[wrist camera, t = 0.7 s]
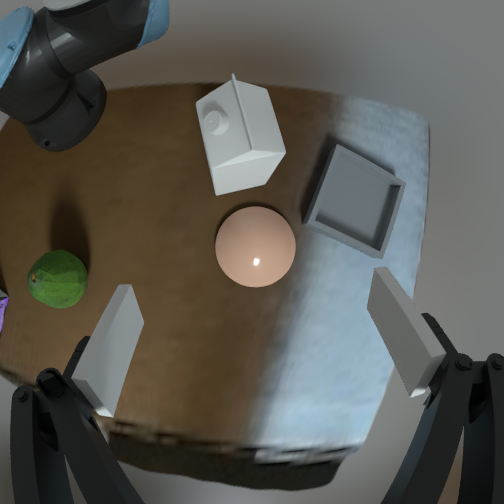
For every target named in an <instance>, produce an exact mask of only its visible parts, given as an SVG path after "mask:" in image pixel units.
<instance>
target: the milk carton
mask: <svg viewBox="0 0 504 504" xmlns="http://www.w3.org/2000/svg"><path fill="white" fill-rule="evenodd" d="M196 108H197V113H198V118H199V123H200V128H201V133H202V137H203V142H204V147H205V152H206V156H207V160H208V165H209V169H210V173H211V178H212V182H213V186H214V190H215V194H216V196H217V195H221V194H226V193H230V192H234V191H238V190H242V189H247V188H251V187H256V186H260V185H264V184H266V182H267V180H268V179H269V177H270V176H271V174H272V173H273V171H274V170H275V168H276V167H277V165H278V164H279V162H280V161H281V159H282V158H283V156H284V155H285V153H286V151H285V147H284V143H283V140H282V137H281V133H280V130H279V127H278V123H277V120H276V117H275V114H274V110H273V107H272V104H271V101H270V98H269V95H268V92H267V89H265V88H261V87H258V86H255V85H251V84H248V83H245V82H241V81H237V80H236V79H235V76H234V74H232V80H230V81H228V82H227V83H225V84H223V85H222V86H220V87H219V88H217V89H215V90H214V91H212V92H211V93H209V94H208V95H206V96H205V97H203V98H201V99H200V100H199V101H197V102H196Z"/></svg>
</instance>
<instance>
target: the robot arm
mask: <svg viewBox="0 0 504 504" xmlns="http://www.w3.org/2000/svg"><path fill="white" fill-rule="evenodd" d="M44 5H45V7H43V8H42V9H40V10H38V11H37V12H35V13H34V10H33V9H32V8H29V7H22V8H18V9H16V10H14V11H12V12H11V13H10V14H8V15H7V16H6V17H4V18H3V19H2V20H1V21H0V111H2V112H4V113H6V114H8V115H9V116H11V117H12V118H14V119H16V120H18V121H20V122H21V123H23V125H24V126H25V128H26V130H27V131H28V133H29V135H30V136H31V138H32V140H33V141H34V142H35V143H36V144H37V145H38V146H40V147H42V148H44V149H46V150H48V151H52V152H59V151H64V150H67V149H69V148H71V147H73V146H75V145H77V144H78V143H79V142H81V141H82V140H83V139H84V138H85V137H86V136H87V135H88V134H89V133H90V132H91V131H92V130H93V129H94V127H95V126H96V124H97V123H98V121H99V119H100V117H101V115H102V113H103V110H104V107H105V103H106V89H105V86H104V84H103V83H102V81H101V80H100V78H99V77H98V76H97V75H96V74H95V73H94V72H93V71H91V70H89V68H91V67H93V66H95V65H97V64H99V63H102V62H104V61H106V60H108V59H111V58H113V57H116V56H118V55H120V54H123V53H125V52H128V51H131V50H134V49H138V48H140V47H141V46H142V45H145V44H147V43H149V42H152V41H154V40H156V39H159V38H160V37H162V36H163V35H164V34H165V33H166V31H167V29H168V26H169V0H44ZM367 309H368V311H369V313H370V315H371V317H372V319H373V321H374V323H375V325H376V327H377V329H378V331H379V333H380V335H381V337H382V339H383V341H384V343H385V345H386V347H387V349H388V351H389V353H390V355H391V357H392V359H393V361H394V363H395V366H396V368H397V370H398V372H399V374H400V376H401V379H402V381H403V383H404V385H405V387H406V390H407V392H408V394H409V396H410V397H413V396H417V395H420V394H423V393H424V392H425V390H426V389H427V387H428V386H429V387H430V390H431V393H430V394H429V396H428V397H427V399H426V401H425V402H424V404H423V405H425V404H426V406H425V409H424V412H423V414H422V417H421V420H420V422H419V425H418V428H417V430H416V433H415V435H414V438H413V440H412V442H411V445H410V447H409V449H408V452H407V454H406V456H405V458H404V461H403V463H402V465H401V467H400V469H399V471H398V473H397V475H396V477H395V479H394V481H393V483H392V485H391V486H390V488H389V490H388V492H387V494H386V495H385V497H384V499H383V501H382V502H381V504H437V503H438V500H439V498H440V495H441V493H442V491H443V488H444V486H445V483H446V481H447V478H448V475H449V473H450V470H451V467H452V464H453V461H454V458H455V455H456V451H457V448H458V445H459V441H460V437H461V434H462V430H463V426H464V446H463V462H462V472H461V481H460V489H459V496H458V502H457V504H504V357H503V356H502V355H500V354H497V353H493V354H491V355H490V356H489V357H488V358H487V360H486V361H472V359H471V358H469V356H467V355H465V354H461V353H458V352H457V351H456V349H455V347H454V346H453V344H452V343H451V341H450V340H449V338H448V337H447V335H446V334H445V333H444V331H443V329H442V328H441V327H440V325H439V324H438V322H437V321H436V320H435V318H434V317H432V316H431V315H429V314H428V313H423V314H420V312H419V311H418V309H417V308H416V306H415V305H414V303H413V302H412V301H411V299H410V298H409V296H408V295H407V294H406V292H405V291H404V289H403V288H402V287H401V285H400V284H399V283H398V281H397V280H396V279H395V277H394V276H393V275H392V273H391V272H390V271H389V269H388V268H387V267H380V268H374V273H373V279H372V284H371V289H370V294H369V299H368V304H367ZM143 325H144V321H143V318H142V315H141V312H140V309H139V306H138V303H137V301H136V298H135V295H134V291H133V288H132V285H131V284H125V285H119V286H118V287H117V289H116V291H115V293H114V294H113V296H112V298H111V300H110V302H109V303H108V305H107V307H106V309H105V311H104V313H103V315H102V316H101V318H100V320H99V322H98V324H97V326H96V328H95V330H94V332H93V334H92V336H85V337H84V338H83V339H82V340H81V341H80V342H79V343H78V345H77V347H76V349H75V352H73V354H72V356H71V358H70V360H69V362H68V365H67V367H66V369H65V371H64V373H63V375H61V374H60V372H59V371H58V370H57V369H55V368H47V369H45V370H43V371H42V372H40V374H39V375H38V376H37V379H36V386H37V387H38V388H39V389H40V391H38V392H34V391H33V390H32V389H31V387H30V386H27V385H22V386H20V387H18V388H17V389H16V390H15V392H14V393H13V397H12V406H11V427H10V449H11V472H12V483H13V492H14V500H15V504H74V502H73V497H72V493H71V489H70V484H69V479H68V474H67V468H66V462H65V456H66V459H67V462H68V464H69V466H70V469H71V471H72V473H73V475H74V477H75V480H76V482H77V484H78V486H79V488H80V490H81V492H82V494H83V496H84V498H85V500H86V501H87V504H145V503H144V502H143V500H142V499H141V497H140V496H139V495H138V493H137V492H136V490H135V489H134V487H133V486H132V484H131V483H130V481H129V480H128V478H127V477H126V475H125V473H124V472H123V470H122V468H121V467H120V465H119V463H118V462H117V460H116V458H115V456H114V455H113V453H112V451H111V449H110V448H109V446H108V444H107V442H106V440H105V438H104V436H103V435H102V433H101V430H100V429H99V426H98V424H97V422H96V420H95V418H94V417H93V416H92V412H93V409H95V410H96V412H97V413H98V414H99V415H103V416H109V417H113V416H114V413H115V409H116V406H117V402H118V399H119V396H120V393H121V389H122V386H123V383H124V380H125V377H126V374H127V371H128V368H129V365H130V362H131V359H132V356H133V353H134V350H135V347H136V344H137V341H138V339H139V336H140V333H141V330H142V327H143ZM64 454H65V456H64Z"/></svg>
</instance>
